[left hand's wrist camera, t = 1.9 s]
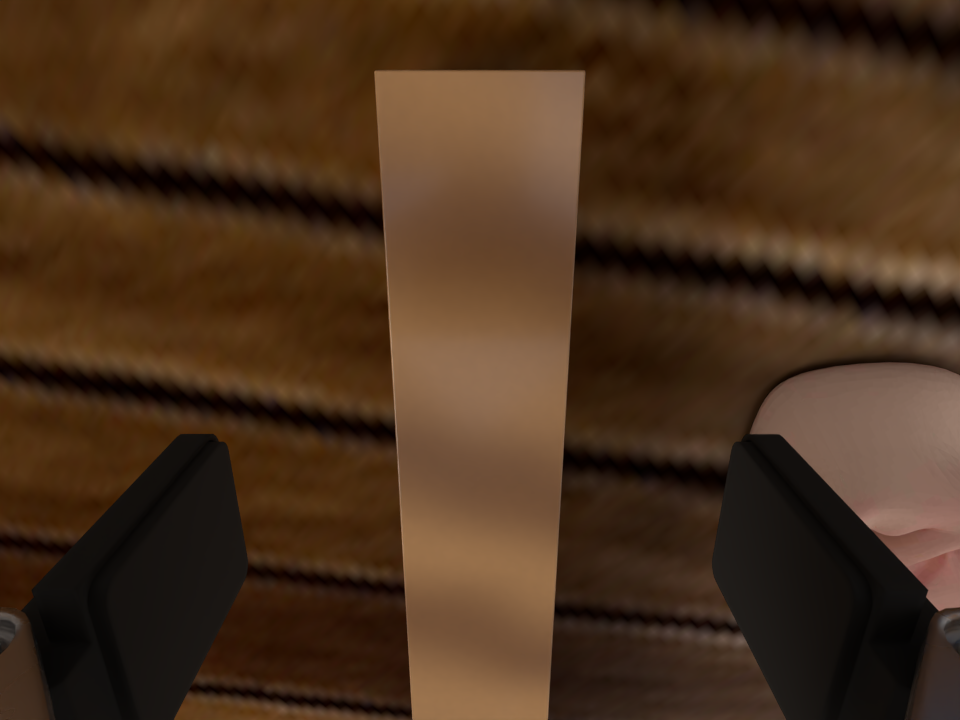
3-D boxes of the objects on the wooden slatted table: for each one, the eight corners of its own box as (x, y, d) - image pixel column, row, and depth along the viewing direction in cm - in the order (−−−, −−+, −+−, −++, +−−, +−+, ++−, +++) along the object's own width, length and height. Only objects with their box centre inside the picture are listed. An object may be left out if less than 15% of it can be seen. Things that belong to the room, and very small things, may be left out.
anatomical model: (747, 452, 21) (1106, 343, 19) (706, 401, 24) (1005, 306, 23) (807, 711, 25) (1100, 639, 24) (765, 636, 29) (1017, 570, 28)
